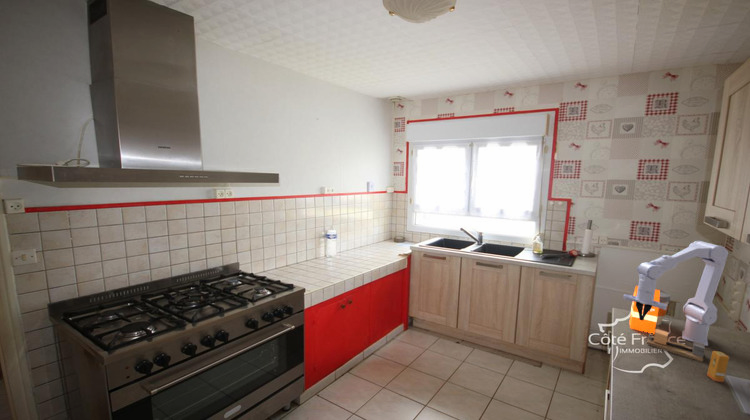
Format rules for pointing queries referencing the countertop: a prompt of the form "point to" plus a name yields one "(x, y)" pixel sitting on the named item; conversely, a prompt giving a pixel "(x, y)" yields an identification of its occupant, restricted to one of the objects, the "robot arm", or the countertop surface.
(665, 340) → the tan small block
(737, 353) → the countertop surface
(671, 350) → the cord board
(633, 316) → the orange juice
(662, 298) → the reusable coffee cup
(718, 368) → the supplement box
